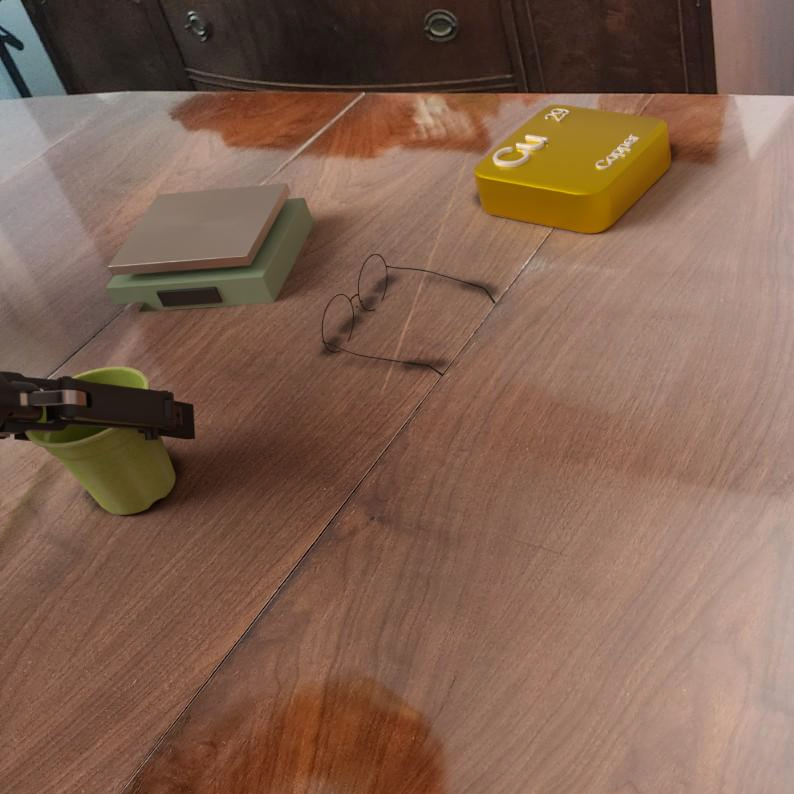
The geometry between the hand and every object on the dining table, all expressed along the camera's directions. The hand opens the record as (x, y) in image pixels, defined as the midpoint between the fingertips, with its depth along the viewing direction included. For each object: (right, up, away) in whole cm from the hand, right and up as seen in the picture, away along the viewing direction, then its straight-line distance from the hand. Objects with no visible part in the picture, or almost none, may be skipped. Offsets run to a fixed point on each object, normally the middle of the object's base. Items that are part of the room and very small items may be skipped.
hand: (131, 425), depth 88 cm
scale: (-1, +19, +22) cm, 29 cm away
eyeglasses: (+21, +10, +10) cm, 25 cm away
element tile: (+35, +27, +23) cm, 50 cm away
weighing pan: (-1, +22, +20) cm, 29 cm away
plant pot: (0, -5, +1) cm, 5 cm away
